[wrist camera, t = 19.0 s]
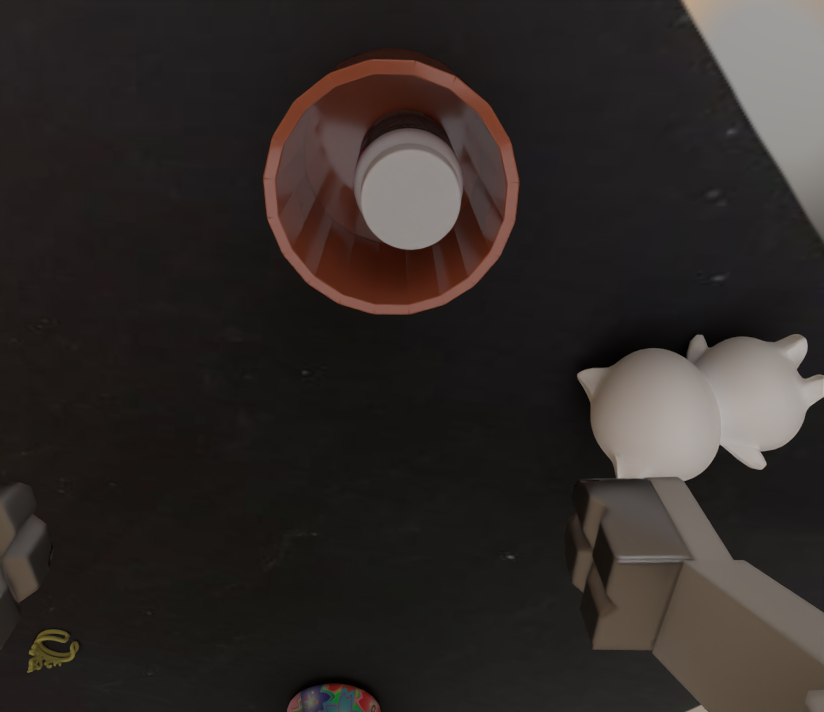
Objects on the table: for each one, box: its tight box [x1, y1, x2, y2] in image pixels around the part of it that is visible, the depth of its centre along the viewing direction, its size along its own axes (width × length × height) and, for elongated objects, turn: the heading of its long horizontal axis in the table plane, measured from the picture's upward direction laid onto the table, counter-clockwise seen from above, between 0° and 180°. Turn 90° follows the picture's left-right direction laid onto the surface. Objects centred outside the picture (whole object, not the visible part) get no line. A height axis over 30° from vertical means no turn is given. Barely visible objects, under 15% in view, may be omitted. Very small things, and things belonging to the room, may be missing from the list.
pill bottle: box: [354, 110, 463, 250], centre depth 27 cm, size 5×5×8 cm
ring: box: [27, 629, 79, 673], centre depth 49 cm, size 3×3×3 cm
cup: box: [263, 48, 519, 315], centre depth 28 cm, size 10×10×9 cm
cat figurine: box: [577, 334, 824, 481], centre depth 36 cm, size 9×11×12 cm
